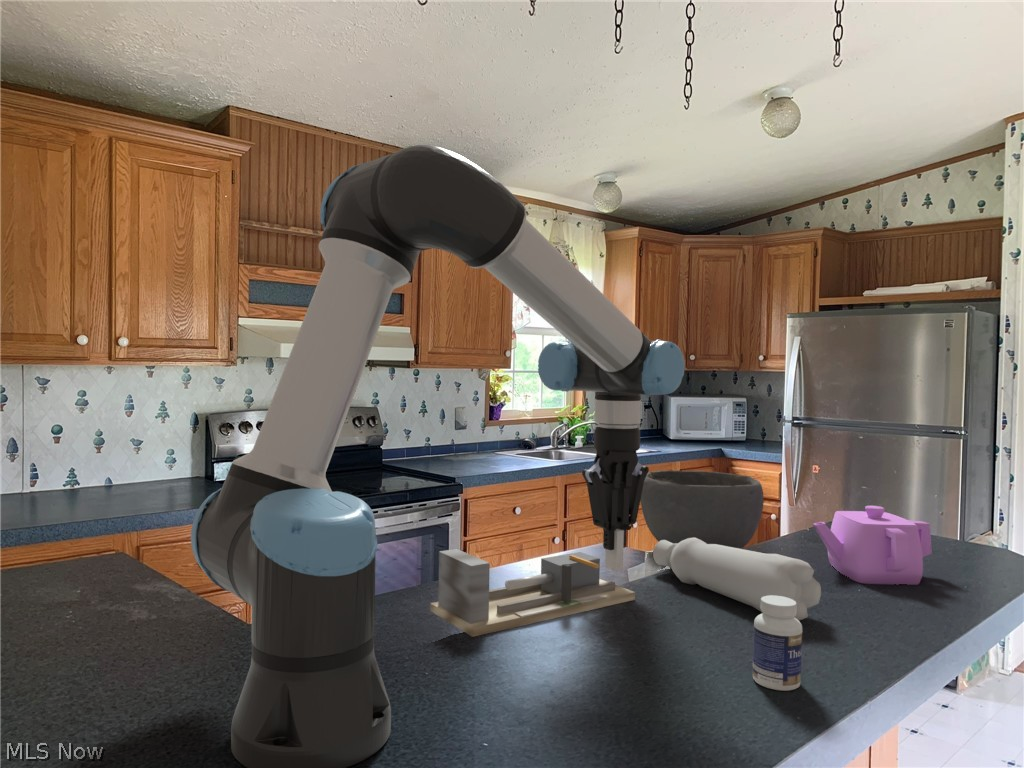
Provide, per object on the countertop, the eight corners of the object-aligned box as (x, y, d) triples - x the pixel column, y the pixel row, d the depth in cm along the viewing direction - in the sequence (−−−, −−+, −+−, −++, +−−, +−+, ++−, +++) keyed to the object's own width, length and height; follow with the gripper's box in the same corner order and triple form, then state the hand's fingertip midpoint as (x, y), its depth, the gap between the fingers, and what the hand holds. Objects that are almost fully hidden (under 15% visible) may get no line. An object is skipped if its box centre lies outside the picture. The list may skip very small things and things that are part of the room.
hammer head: (570, 601, 109) (571, 565, 109) (566, 602, 109) (567, 566, 109) (565, 599, 110) (566, 563, 110) (561, 600, 110) (562, 564, 110)
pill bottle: (795, 696, 83) (798, 611, 83) (747, 684, 86) (749, 602, 86) (804, 679, 88) (807, 598, 88) (758, 669, 91) (761, 590, 91)
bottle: (832, 595, 110) (688, 555, 136) (811, 548, 108) (668, 516, 133) (799, 638, 106) (657, 588, 132) (775, 590, 104) (635, 549, 129)
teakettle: (908, 594, 122) (910, 520, 122) (806, 572, 134) (808, 505, 134) (938, 575, 134) (940, 507, 134) (842, 556, 146) (844, 494, 146)
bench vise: (634, 599, 117) (636, 542, 116) (472, 636, 99) (474, 569, 99) (585, 580, 126) (586, 527, 126) (430, 611, 109) (431, 549, 109)
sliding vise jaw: (616, 595, 114) (617, 561, 114) (532, 613, 105) (533, 576, 104) (579, 581, 121) (580, 548, 121) (498, 597, 112) (499, 562, 112)
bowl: (654, 531, 165) (656, 464, 164) (769, 545, 154) (771, 473, 154) (621, 556, 143) (623, 479, 142) (752, 574, 132) (754, 491, 132)
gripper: (630, 422, 128) (627, 557, 129) (571, 425, 121) (568, 568, 121) (662, 426, 122) (658, 568, 123) (602, 429, 114) (599, 580, 115)
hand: (614, 568), depth 122 cm, fingers closed
